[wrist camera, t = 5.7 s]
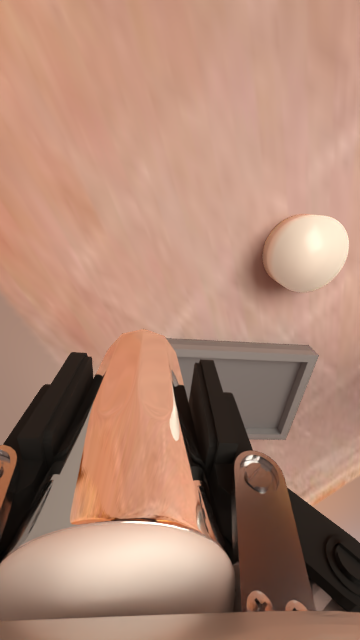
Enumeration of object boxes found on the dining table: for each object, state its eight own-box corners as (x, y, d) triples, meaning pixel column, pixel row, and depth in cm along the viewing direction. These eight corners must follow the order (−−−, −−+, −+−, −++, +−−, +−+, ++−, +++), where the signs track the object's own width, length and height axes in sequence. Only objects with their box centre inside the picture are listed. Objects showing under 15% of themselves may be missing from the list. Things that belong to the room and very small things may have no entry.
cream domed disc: (339, 217, 24) (361, 219, 22) (316, 285, 27) (332, 294, 25) (271, 210, 24) (285, 211, 21) (255, 281, 27) (265, 290, 24)
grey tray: (308, 345, 30) (318, 355, 28) (278, 426, 36) (285, 439, 34) (162, 338, 29) (162, 348, 27) (156, 424, 35) (156, 438, 33)
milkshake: (180, 407, 13) (226, 825, 4) (82, 380, 12) (-138, 892, 3) (220, 340, 12) (421, 788, 3) (110, 300, 10) (-179, 894, 1)
